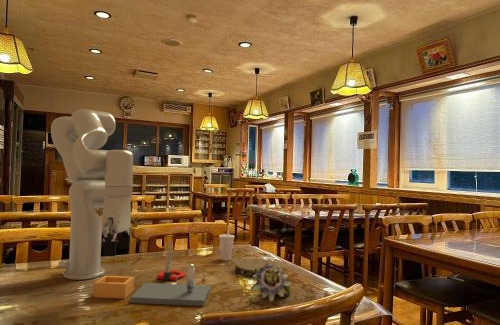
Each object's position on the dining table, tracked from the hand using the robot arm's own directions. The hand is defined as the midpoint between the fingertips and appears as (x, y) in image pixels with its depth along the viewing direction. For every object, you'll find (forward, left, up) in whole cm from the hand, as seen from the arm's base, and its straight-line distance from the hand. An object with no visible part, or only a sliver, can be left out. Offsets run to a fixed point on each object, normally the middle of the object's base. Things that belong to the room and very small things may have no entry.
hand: (117, 252), depth 100 cm
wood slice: (+40, +28, -13) cm, 51 cm away
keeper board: (+16, 0, -12) cm, 20 cm away
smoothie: (+27, +43, -12) cm, 53 cm away
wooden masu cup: (-1, 0, -12) cm, 12 cm away
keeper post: (+21, 0, -11) cm, 24 cm away
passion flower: (+44, +4, -12) cm, 46 cm away
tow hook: (+11, +19, -12) cm, 25 cm away
